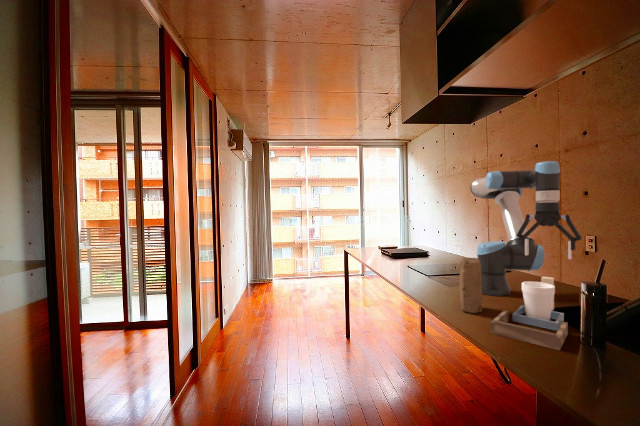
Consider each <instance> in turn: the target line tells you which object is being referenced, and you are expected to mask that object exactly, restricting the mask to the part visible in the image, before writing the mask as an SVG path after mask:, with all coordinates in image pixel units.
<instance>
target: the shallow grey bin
mask: <svg viewBox="0 0 640 426" xmlns="http://www.w3.org/2000/svg"><path fill="white" fill-rule="evenodd" d="M568 324H569V323H568V322H567V321H566V322H565V321H563V323H562V324H561V326H560V328H559V330H558V331H556V333H554V332H549V331H544V330H539V329H536V328H532V327H531V328H530V327H527V326H522V325H517V324H513V323H509V310H506V309H504V310H503V311H502V312H501V313H499V314H498V315H496V317H495V318H493V319H492V320H491V321H490V328H489V329H490V334H492V335H497V336H500V337H505V338H510V339H513V340H517V341H521V342H525V343H528V344H532V345H537V346H540V347H543V348H544V347H545V348H549V349H553V350H556V351H561V349H562V347H563V345H564V343H565V341H566V338H567V337H568V335H569V325H568Z"/></svg>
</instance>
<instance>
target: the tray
mask: <svg viewBox="0 0 640 426" xmlns="http://www.w3.org/2000/svg"><path fill="white" fill-rule="evenodd" d="M540 282H542V283H547V284H551V285H554V286H555V277H551V276H542V277H541V278H540ZM554 310H555V297H554V298H553V304H552V310H551V316H550V321H548V320H543V319H538V318H533V317H528V316H526V311H525V305H520V306H519V307H518V308H517V309H516V310H515V311H514V312H513V313H511V314H512V315H511V316H512V318H511V319H512V322H515V323H519V324H523V325H524V324H525V325H529V326H533V327H537V328H542V329H547V330H550V331H551V330H552V331H556V332H557V331H558V330H559V328H560V326H561V324H562V323H563V322H565V321H564V320H565V313H564V312H559V311H554ZM523 314H525V315H523ZM552 320H555V321H552Z"/></svg>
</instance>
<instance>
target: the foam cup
mask: <svg viewBox="0 0 640 426" xmlns="http://www.w3.org/2000/svg"><path fill="white" fill-rule="evenodd" d="M521 291H522V297H523V303H524V306H525V311H526V314H525V316H528V317H533V318H538V319H543V320H548V321H551V318H550V316H551V310H552V304H553V298H554V299H555V294H556V287H555V284H554V285H551V284H547V283H542V282H541V281H530V280H529V281H523V282H521Z"/></svg>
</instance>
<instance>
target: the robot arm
mask: <svg viewBox="0 0 640 426" xmlns="http://www.w3.org/2000/svg"><path fill="white" fill-rule="evenodd" d="M560 174H561V168H560V162H558V161H556V160H553V161H552V160H551V161H540V162H537V163H535V167H534V169H525V170H523V169H522V170H506V171H505V170H503V171H500V170H496V171H489V172H487V173H486V175H485V177H479V178H476V179H474V180H473V181H472V182H471V183H470V186H469V190H470V191H469V192H470V193H471V194H472V195H473V196H475V197H476V198H479V199H482V200H483V199H484V200H485V199H486V200H488V199H489V200H494V201H493V202H494V204H497V205H498V206H499V210H500V214H501V218H502V221H503V225H504V228H505V231H506V232H505V233H506V236H507V239H508V241H506V242H505V241H502V240H496V241H494V240H493V241H484V242H482V243H479V244H478V245H477V250H476V256H477V259H479V260H480V262H481V275H482V295H488V296H493V297H494V296H497V297H498V296H500V297H501V296H504V297H505V296H509V295H510V294H511V287H510V283H509V282H508V279H507V275H506V273H507V271H528V272H529V271H538V270H541V269H542V267H543V265H544V261H545V249H544V247H543V246H542V245H541V244H536V242H535V239H534V238H532V237H531V236H530V235H531V234H532V233H533V232H534V231H535V230H537V228H538V227H540V226H542V227H554V226H555V227H556V228H557V229H558V230H559V231H560V232H561V233H563V235H564V236H566V237H567V238H568V241H567V259H568V260H572V256H573V255H572V253H573V252H572V251H576V243H577V241H581V240H582V239H583V236H581V234H580V232H579V230H578V229H577V227H576V226H575V225H574V223H573V221H572V218H571V214H565V215H564V214H561V207H560V197H561V195H560V193H561V192H560V191H561V190H560V188H561V186H560V185H561V184H560V182H561V181H560V180H561V179H560V177H561V175H560ZM523 189H535V202H536V203H535V214H528V213H527V214H525V219H524V216H523V214H522V210H521V207H520V203H519V201H520V198H521V196H522V194H523ZM533 219H535V221H536V222H535V223H534V224H533V225H532V226H531V227H530V228H529V229H528V228H527V226H528V225H529V224H530V221H532V220H533ZM561 219H562V220H563V221H565V222H566V224H567V226H568V227H569V229H570V230H571V232H572V233H573V235H572V234H571V233H570V232H569V231H568V230H567V229H566V228H565V227H564V226H563V225H562V224H561V223H560V222H559V221H560V220H561Z"/></svg>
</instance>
